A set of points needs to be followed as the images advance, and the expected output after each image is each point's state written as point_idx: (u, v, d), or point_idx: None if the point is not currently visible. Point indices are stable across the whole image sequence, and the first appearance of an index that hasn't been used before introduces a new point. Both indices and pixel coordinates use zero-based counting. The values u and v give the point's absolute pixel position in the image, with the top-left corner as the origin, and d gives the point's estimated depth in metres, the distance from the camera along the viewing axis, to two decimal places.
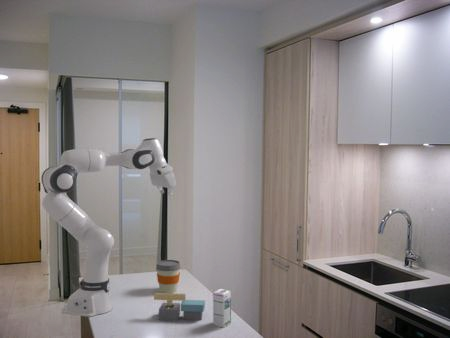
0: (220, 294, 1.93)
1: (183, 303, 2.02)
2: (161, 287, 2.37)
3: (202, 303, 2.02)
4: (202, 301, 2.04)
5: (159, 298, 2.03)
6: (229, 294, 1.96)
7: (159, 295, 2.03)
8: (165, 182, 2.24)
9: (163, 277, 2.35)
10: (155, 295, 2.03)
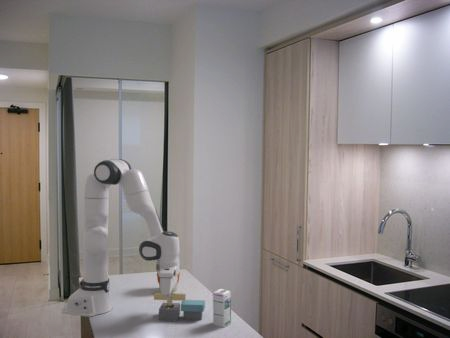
0: (220, 294, 1.93)
1: (183, 303, 2.02)
2: None
3: (202, 303, 2.02)
4: (202, 301, 2.04)
5: (159, 298, 2.03)
6: (229, 294, 1.96)
7: (159, 295, 2.03)
8: None
9: None
10: (155, 295, 2.03)
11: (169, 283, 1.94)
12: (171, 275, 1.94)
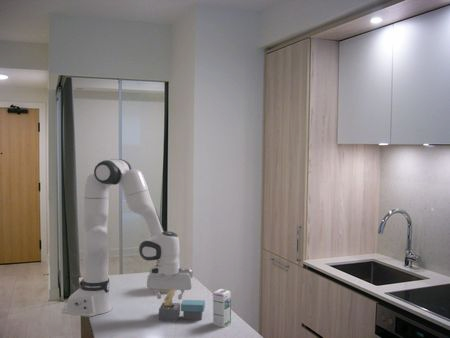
0: (220, 294, 1.93)
1: (183, 303, 2.02)
2: None
3: (202, 303, 2.02)
4: (202, 301, 2.04)
5: None
6: (229, 294, 1.96)
7: None
8: None
9: None
10: None
11: None
12: (149, 270, 2.01)
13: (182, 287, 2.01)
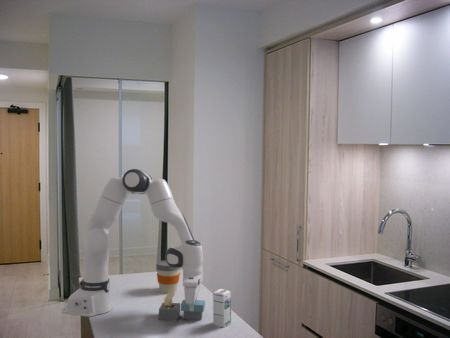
0: (220, 294, 1.93)
1: (183, 303, 2.02)
2: (161, 287, 2.37)
3: (202, 303, 2.02)
4: (202, 301, 2.04)
5: None
6: (229, 294, 1.96)
7: None
8: None
9: (163, 277, 2.35)
10: None
11: (194, 292, 1.93)
12: (195, 284, 1.94)
13: (198, 290, 2.09)
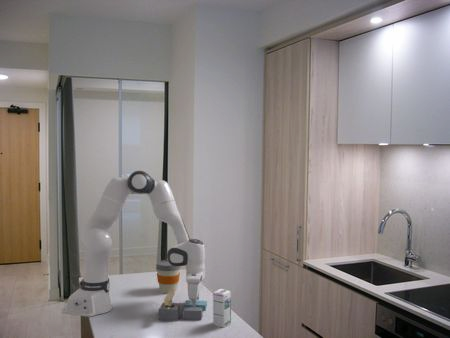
0: (220, 294, 1.93)
1: (186, 303, 2.14)
2: (161, 287, 2.37)
3: (204, 303, 2.14)
4: (204, 301, 2.17)
5: None
6: (229, 294, 1.96)
7: None
8: None
9: (163, 277, 2.35)
10: None
11: (196, 288, 2.05)
12: (198, 280, 2.06)
13: (201, 286, 2.21)
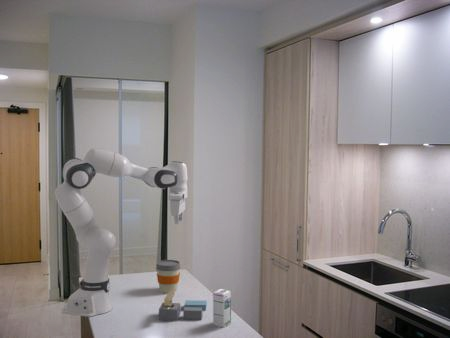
0: (220, 294, 1.93)
1: (186, 303, 2.14)
2: (161, 287, 2.37)
3: (204, 303, 2.14)
4: (204, 301, 2.17)
5: None
6: (229, 294, 1.96)
7: None
8: None
9: (163, 277, 2.35)
10: None
11: (178, 204, 2.14)
12: (180, 197, 2.15)
13: (184, 208, 2.30)
